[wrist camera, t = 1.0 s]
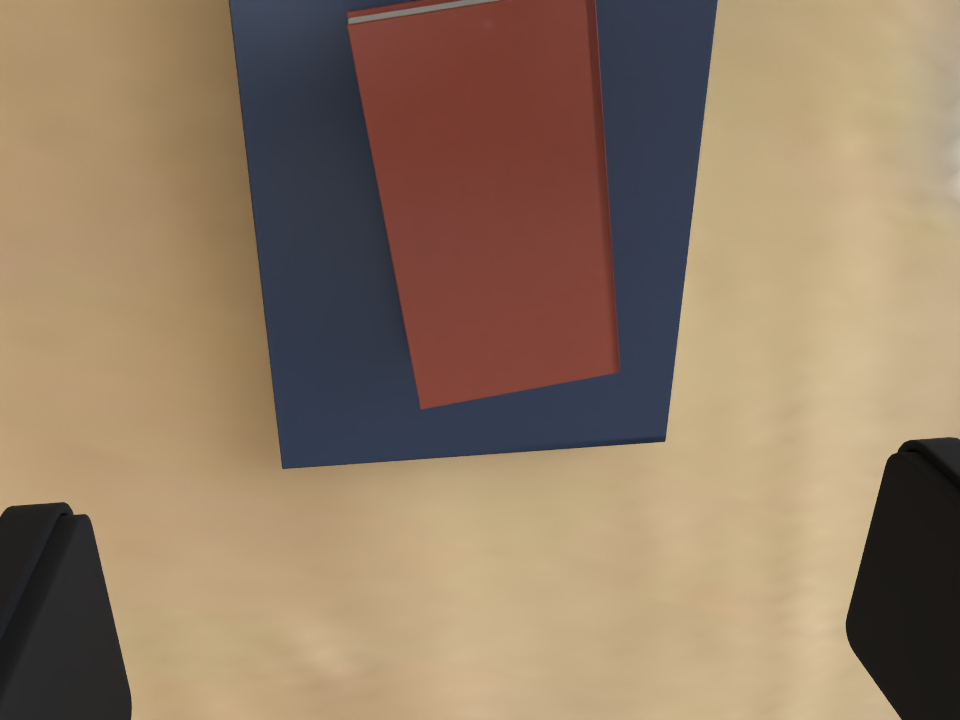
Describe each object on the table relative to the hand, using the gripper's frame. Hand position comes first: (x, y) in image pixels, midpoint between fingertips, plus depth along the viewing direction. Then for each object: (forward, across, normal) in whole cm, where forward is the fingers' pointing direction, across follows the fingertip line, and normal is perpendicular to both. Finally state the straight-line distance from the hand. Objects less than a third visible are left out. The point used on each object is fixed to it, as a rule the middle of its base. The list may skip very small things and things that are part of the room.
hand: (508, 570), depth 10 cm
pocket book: (+18, -2, 0) cm, 19 cm away
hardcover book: (+21, -2, 0) cm, 21 cm away
